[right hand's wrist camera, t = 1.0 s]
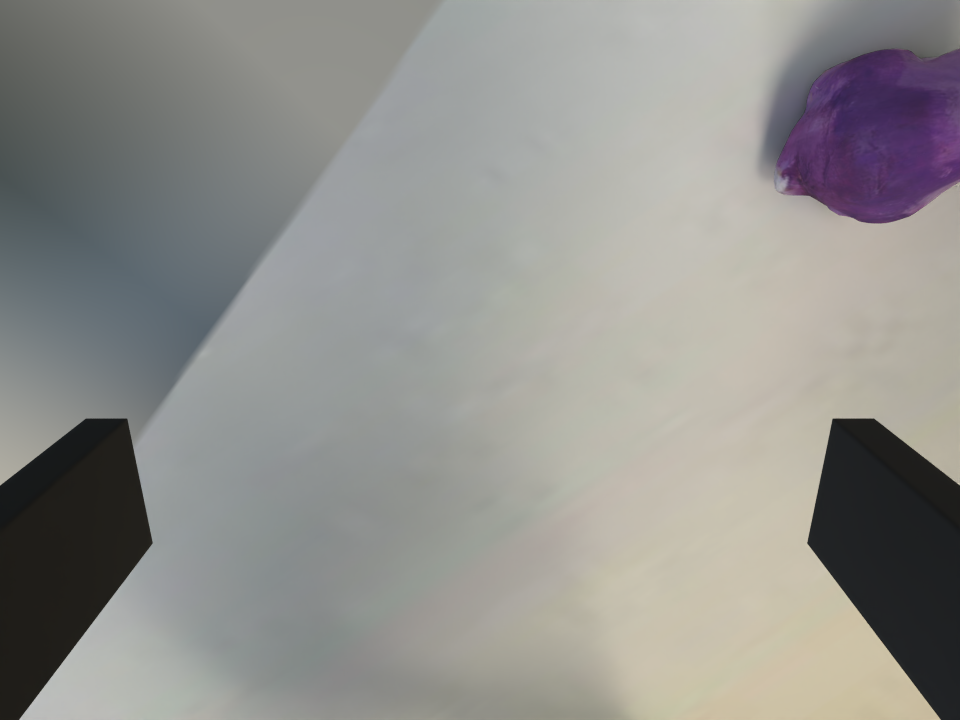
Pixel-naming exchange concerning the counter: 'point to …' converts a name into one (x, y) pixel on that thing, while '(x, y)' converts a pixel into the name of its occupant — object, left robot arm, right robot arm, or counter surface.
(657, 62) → the counter surface
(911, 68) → the figurine
